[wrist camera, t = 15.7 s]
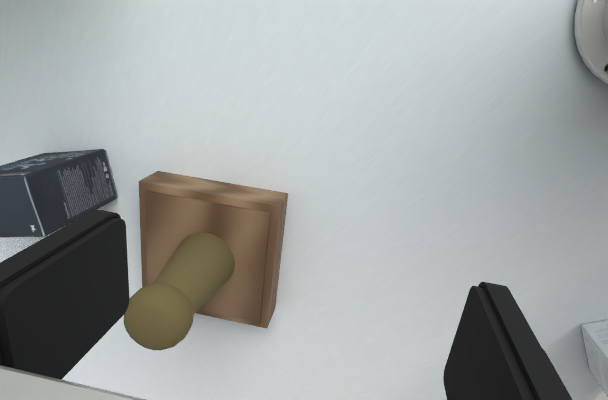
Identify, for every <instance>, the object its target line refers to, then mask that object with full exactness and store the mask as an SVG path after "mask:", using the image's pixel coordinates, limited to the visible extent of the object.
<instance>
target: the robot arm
mask: <svg viewBox="0 0 608 400" xmlns="http://www.w3.org/2000/svg"><path fill="white" fill-rule="evenodd" d="M575 39H576V43H577V48H578V51H579V53H580V55H581V57H582V59H583V61H584V63H585V64H586V66H587V67H588V68H589V69H590V71H591V72H592V73H593V74H594V75H595V76H597V77H598V78H599V79H600V80H602V81H603V82H604V83H606V84H608V0H578V2H577V8H576V13H575ZM606 65H607V69H606V70H605V71H604V67H605V66H606ZM128 306H129V283H128V263H127V242H126V225H125V222H124V220H123V219H121V217H120V215H119V214H117V213H113V212H108V211H103V210H94V211H92V212H90V213H88V214H86V215H85V216H83V217H81V218H79V219H78V220H76V221H74V222H72V223H70V224H69V225H67V226H65V227H63V228H62V229H60V230H58V231H56V232H54V233H53V234H51V235H49V236H47V237H45V238H44V239H42V240H40V241H38V242H37V243H35V244H33V245H31V246H29V247H28V248H26V249H24V250H22V251H20V252H19V253H17V254H15V255H13V256H12V257H10V258H8V259H6V260H4V261H3V262H1V263H0V400H145V399H140V398H136V397H132V396H128V395H124V394H120V393H115V392H111V391H107V390H103V389H98V388H94V387H90V386H86V385H82V384H77V383H73V382H69V381H65V380H61V379H62V378H63V377H64V376H65V375H66V374H67V373H68V372H69V371H70V370H71V369H72V368H73V367H74V366H75V365H76V364H77V363H78V362H79V361H80V360H81V359H82V358H83V356H84V355H85V354H86V353H87V352H88V351H89V350H90V349H91V348H92V347H93V346H94V345H95V344H96V343H97V342H98V341H99V340H100V339H101V338H102V337H103V336H104V335H105V334H106V333H107V331H108V330H109V329H110V328H111V327H112V326H113V325H114V324H115V323H116V322H117V321H118V320H119V319H120V318H121V317H122V316H123V315H124V314H125V312H126V311H127V308H128ZM444 386H445V391H446V396H447V400H572V398H571V397H570V395H569V393H568V391H567V389H566V388H565V386H564V384H563V382H562V381H561V379H560V377H559V375H558V374H557V372H556V370H555V368H554V366H553V365H552V363H551V361H550V359H549V358H548V356H547V354H546V353H545V351H544V350H543V349H542V347H541V346H540V344H539V342H538V340H537V339H536V337H535V335H534V333H533V331H532V330H531V328H530V326H529V324H528V323H527V321H526V319H525V317H524V315H523V314H522V312H521V310H520V308H519V306H518V305H517V303H516V301H515V299H514V298H513V296H512V294H511V292H510V290H509V289H508V288H507V286H502V285H497V284H492V283H486V282H481V283H480V284H479V286H478V287H477V286H472V287H471V289H470V291H469V294H468V297H467V301H466V304H465V307H464V310H463V313H462V316H461V319H460V322H459V326H458V329H457V332H456V335H455V338H454V341H453V344H452V347H451V351H450V354H449V357H448V360H447V363H446V366H445V370H444Z"/></svg>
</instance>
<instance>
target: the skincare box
mask: <svg viewBox="0 0 608 400" xmlns="http://www.w3.org/2000/svg"><path fill="white" fill-rule="evenodd" d="M581 329H582V334H583V339H584V344H585V349H586V353H587V358H588V363H589V368H590V372H591V373H592V374H593V376H594V377H595V379H596V380H597V382H598V383H599V385H600V386H601V388H602V389H603V391H604V392H605V393H606V395H607V396H608V320H604V321H599V322H593V323H587V324H582V325H581Z"/></svg>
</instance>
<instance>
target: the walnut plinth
mask: <svg viewBox="0 0 608 400" xmlns="http://www.w3.org/2000/svg"><path fill="white" fill-rule="evenodd" d="M139 197H140V227H141V256H142V286H143V287H145V286H147V285H150V284H153V283H154V281H155V280H156V278H157V277H158V275H159V274H160V272H161V271H162V269H163V268H164V266H165V265H166V263H167V262H168V260H169V259H170V258H171V256H172V255H173V253H174V252H175V250H176V249H177V247H178V246H179V244H180V243H181V241H182V240H183V239H184V238H186V237H187V236H188V235H191V234H193V233H199V232H205V233H209V234H213V235H215V236H217V237H218V238H220V239H222V240H223V241H224V242H225V243H226V244H227V245H228V246H229V248H230V250H231V251H232V253H233V256H234V261H235V267H234V272H233V274H232V275H231V277H230V279H229V280H228V281H227V282H226V283H225V284H224V285H223V286H222V287H221V288H220V289H219V290H218V291H217V292H216V293H215V294H214V295H213V296H212V297H211V298H210V299H209V300H208V301H207V302H206V303H205V304H204V305H203V306H202V307H201V308H200V309H199V310H198V311H197V312H196V313H197V314H202V315H207V316H212V317H216V318H221V319H226V320H230V321H235V322H240V323H244V324H249V325H254V326H258V327H263V328H267V327H268V325H269V322H270V320H271V317H272V315H273V312H274V310H275V304H276V295H277V286H278V277H279V268H280V259H281V250H282V241H283V233H284V224H285V215H286V206H287V197H288V193H282V192H276V191H270V190H264V189H259V188H253V187H247V186H241V185H235V184H230V183H224V182H218V181H212V180H206V179H201V178H195V177H189V176H183V175H177V174H172V173H166V172H160V171H157V172H155V173H153V174H152V175H150V176H148V177H146V178H144V179H142V180H141V181H139Z"/></svg>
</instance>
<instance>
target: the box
mask: <svg viewBox="0 0 608 400" xmlns="http://www.w3.org/2000/svg"><path fill="white" fill-rule="evenodd" d="M116 198H117V193H116V189H115V185H114V180H113V176H112V172H111V169H110V165H109V161H108V157H107V153H106V151H105V150H104V149H99V150H86V151H73V152H59V153H55V152H54V153H43V154H39V155H36V156H33V157H29V158H26V159H22V160H18V161H15V162H12V163H9V164H5V165H2V166H0V237H45V236H47V235H49V234H51V233H53V232H55V231H57V230H58V229H60V228H62V227H64V226H66V225H68V224H70V223H72V222H73V221H75V220H77V219H79V218H81V217H83V216H85V215H86V214H88V213H90V212H92V211H94V210H96V209H98V208H99V207H101V206H103V205H105V204H107V203H109V202H111V201H113V200H114V199H116Z"/></svg>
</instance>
